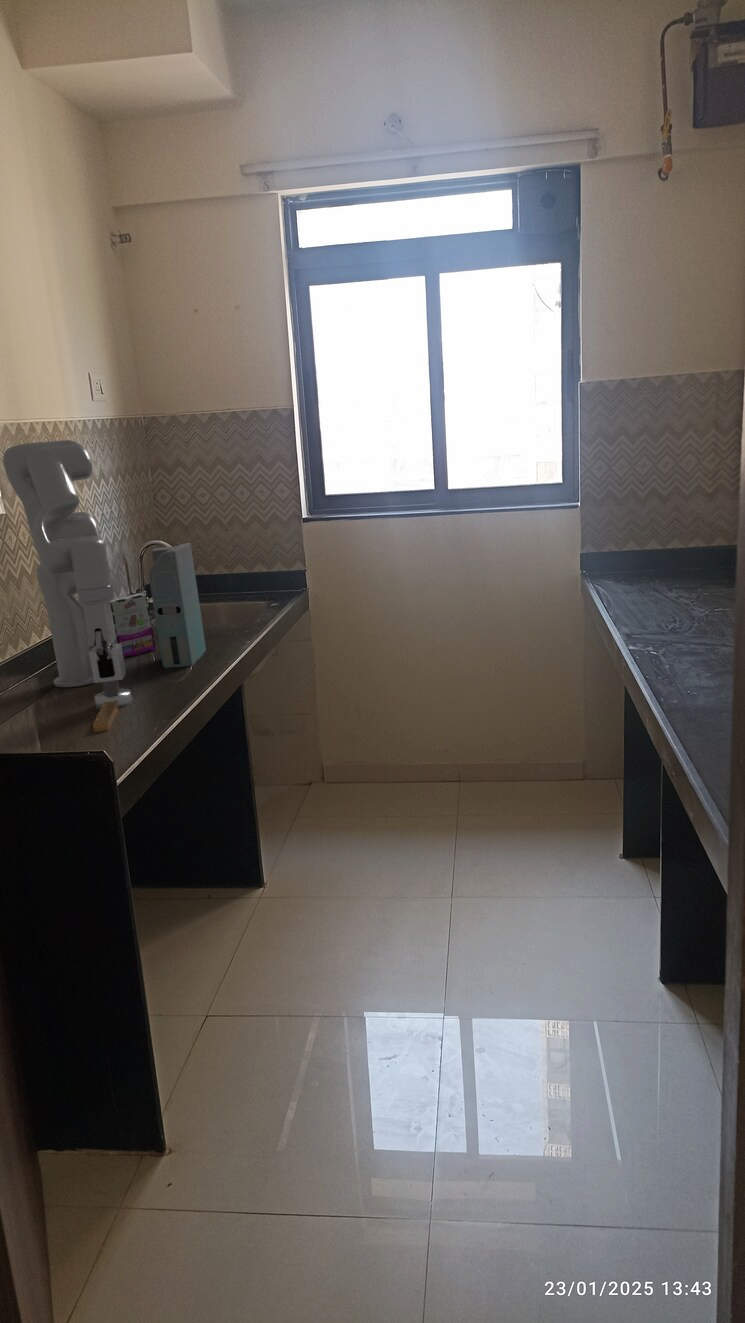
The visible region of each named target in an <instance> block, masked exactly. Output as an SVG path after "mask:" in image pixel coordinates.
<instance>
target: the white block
mask: <svg viewBox="0 0 745 1323" xmlns="http://www.w3.org/2000/svg"><path fill="white" fill-rule="evenodd" d="M104 646H105V645H104ZM103 650H104V649H103ZM105 651H106V649H105ZM109 651H110V659H112V662H113V668H114V673H115V675H114V676H113V677H107V678H100V676H99V670H98V665H97V656H96V646H94V647H93V648H92V649H91V650H90V652H89V656H90V662H91V667H92V673H93V678H94V683H93V684H98V683H103V682H106V681H114V680H118V681H120V680H121V681H122V680H124V677H125V676H126V673H127V672H126V666H125V660H124V659H125V658H123V653H122V647H121V643H120V644H113V645H110V646H109Z"/></svg>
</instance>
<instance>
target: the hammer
mask: <svg viewBox="0 0 745 1323" xmlns="http://www.w3.org/2000/svg"><path fill="white" fill-rule="evenodd" d="M102 688H103V691H102V692H99V693H96V694H95V695H94V701H95V708H96V709H98V710H99V712H98V713H97V715H96V718H95V719H94V721H93V723H92V727H93V732H94V733H100V732H107V731H110V729H111V728H112V725H113V723H114V720H115V718H116V716H117V713H118V711H119V709H120V708H123V707H127V706H129V705H131V704H132V703H133V697H132V690H131V689H128V688H120V683H119V680H114V681H106V682H102Z"/></svg>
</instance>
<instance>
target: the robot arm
mask: <svg viewBox="0 0 745 1323" xmlns="http://www.w3.org/2000/svg"><path fill="white" fill-rule="evenodd" d="M89 453H90V452H88V450H87V449H86V447H84V445H82V444H81V443H79V442H76V441H74V440H70V439H69V440H68V439H63V440H61V439H60V440H52V441H42V442H41V441H39V442H29V443H22V444H17V445H12V446H11V447H8V448H7V449H6V450H4V454H3V456H2V460H3V461H2V462H3V466H4V471H5V475H6V477H7V479H8V481H9V483H10V486H11V487H12V489H13V490H14V492H15V493H16V495H17V497H18V498H19V500H20V501H21V504H22V506H23V510H24V513H25V516H26V520H27V524H28V527H29V531H30V535H31V537H32V541H33V544H34V548H35V550H36V553H37V556H38V558H39V562H40V564H39V565H38V566H37V569H36V580H37V582H38V586H39V589H40V591H41V595H42V598H43V601H44V604H45V608H46V613H47V616H48V623H49V628H50V634H51V639H52V643H53V644H52V645H53V650H54V655H55V660H56V667H57V671H58V677H56V678H54V679H53V684H54V686H55V687H57V688H75V687H77V688H78V687H82V686H87V685H92V684H95V683H94V678H93V673H92V667H91V662H90V656H89V652H90V650H91V649H92V648H93V647H96V656H97V665H98V670H99V676H100V678H107V677H113V676H114V675H115V673H114V668H113V662H112V659H110V651H109V646H110V645H113V644H114V643H113V642H114V640H115V628H114V622H113V616H112V611H111V606H110V601H112V600H114V599H115V596H114V589H113V583H112V572H111V568H110V563H109V560H108V554H107V548H106V545H105V544H106V543H105V542H104V540H103V539H102V536H101V531H100V529H99V526H98V523H97V521H96V519H95V517H94V516H93V515H91V514H90V513H89V512H85V511H78V512H77V511H76V510H77V509H78V507H79V505H80V497H79V495H78V494H79V493H78V492H77V489H76V487H75V485H74V482H76V481H84V480H88V479H90V477H92V474H93V461H92V459H91V455H90V454H89ZM73 481H74V482H73ZM75 595H77V597H78V599H77V598H76V596H75ZM104 645H105V646H104ZM103 649H104V650H103ZM105 649H106V651H105Z"/></svg>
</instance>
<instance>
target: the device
mask: <svg viewBox="0 0 745 1323" xmlns="http://www.w3.org/2000/svg"><path fill="white" fill-rule="evenodd" d="M150 552H151V559H152V563H153V564H152V565H151V566H150V568H149V570H148V580H149V585H150V591H151V598H152V604H153V605H152V606H153V611H154V618H155V624H156V631H157V637H158V638H157V639H158V643H159V649H160V655H161V662H162V666H163V668H165V669H172V668H183V667H184V668H185V667H194V665H195V664H196V663H197V662H198V661H197V660H198V659H199V660H200V659H201V657H203V656H204V654H205V653H206V652H207V646H206V640H205V633H204V625H203V620H202V619H203V618H202V611H201V607H200V606H201V604H200V599H199V592H198V584H197V580H196V579H197V578H196V570H195V564H194V556H193V550H192V544H191V542H188V543H187V542H185V543H179V544H178V545H176V546H165V547H157V548H154V549H152V550H151V551H150ZM205 651H206V652H205ZM204 652H205V653H204ZM203 653H204V654H203ZM196 661H197V662H196Z"/></svg>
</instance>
